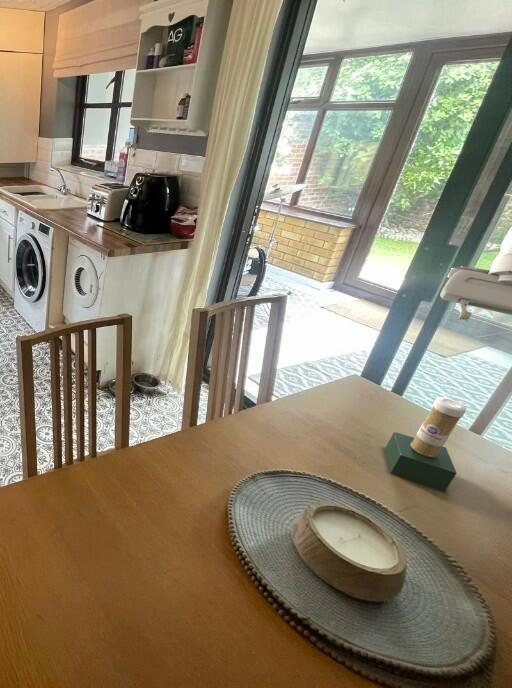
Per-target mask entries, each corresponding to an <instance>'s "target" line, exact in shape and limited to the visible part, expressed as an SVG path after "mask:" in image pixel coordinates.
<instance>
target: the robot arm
mask: <svg viewBox="0 0 512 688" xmlns="http://www.w3.org/2000/svg"><path fill="white" fill-rule="evenodd" d="M447 279H448V280H447V282H446V283H445V284H444V286H443V288H442V290H441V291H440V294H439V296H440V298H441V300H443V301H448V302H452V303H456V304H457V306H456V308H457V311H458V312H459V317H458V319H457V320H458V321H463V322H468V321H469V320H470V317H471V315H472V312H471V311H468V310H467V306H470V307H474V308H477V309H482V310H487V311H491V312H495V313H500V314H505V315H509V316H512V226H511V227H510V228H509V230H508V232H507V233H506V235H505V237H504V239H503V240H502V242H501V245H500V247H499V253H498V255H497V256H496V257H495V258H494V260H493V262H492V264H491V265H490V268H489V269H483V268H476V267H470V266H469V265H468V266H467V265H461V266H454V267H452V268H451V269H449V271H448V272H447Z"/></svg>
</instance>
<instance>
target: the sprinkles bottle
mask: <svg viewBox="0 0 512 688" xmlns="http://www.w3.org/2000/svg"><path fill="white" fill-rule="evenodd" d="M466 411H467V407H466V406H465V405H464V404H463V403H461V402H459V401H457V400H455V399H453V398H448V397H442V396H441V397H436V399H435V400H434V402H433V404H432V408H431V409H430V411H429V413H428V415H427V416H426V418H425V420H424V421H423V423H421V425H420V428H419V429H418V430H417V433H416V435H415V437H414V438H415V439H414V440H413V442H412V443H411V447H412V449H413V450H415V451H416V452H417V453H419V454H421V455H424V456H427V457H437V456H438V452H439V451H440V449H441V448H442V446H443V447H444V445H445V444H446V442H447V440H448V439H449V437H450V435H451V434H452V432H453V431H454V429H455V427H456V425H457V424H458V422H459V420H460V419H462V417H463V416H464V415H465V413H466Z"/></svg>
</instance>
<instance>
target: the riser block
mask: <svg viewBox="0 0 512 688" xmlns="http://www.w3.org/2000/svg"><path fill="white" fill-rule="evenodd" d="M414 439H415V437H413V436H410V435H406V434H403V433H400V432H397V431H393V433H392V434H391V437H390V439H389V440H388V442H387V444H386V445H385V448H384V451H385V455H386V458H387V463H388V467H389V472H390V473H391V474H393V475H395V476H398V477H400V478H404V479H408V480H410V481H413V482H415V483H419V484H422V485H425V486H427V487H430V488H432V489H433V488H434V489H436V490H438V491H441V492H446V490H447V489H448V488H449V486H450V484H451V483H452V482H453V480H454V478H455V477H456V476H457V470H456V468H455V466H454V463H453V461H452V459H451V456H450V454H449V452H448V449H447V447H446V446H444V445H443V446H442V448H441V449H440V451H439V452H438V456H437V457H427V456H424V455H421V454H419V453H417V452H416V451H415V450H413V449H412V447H411V443H412V442H413V440H414Z"/></svg>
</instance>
